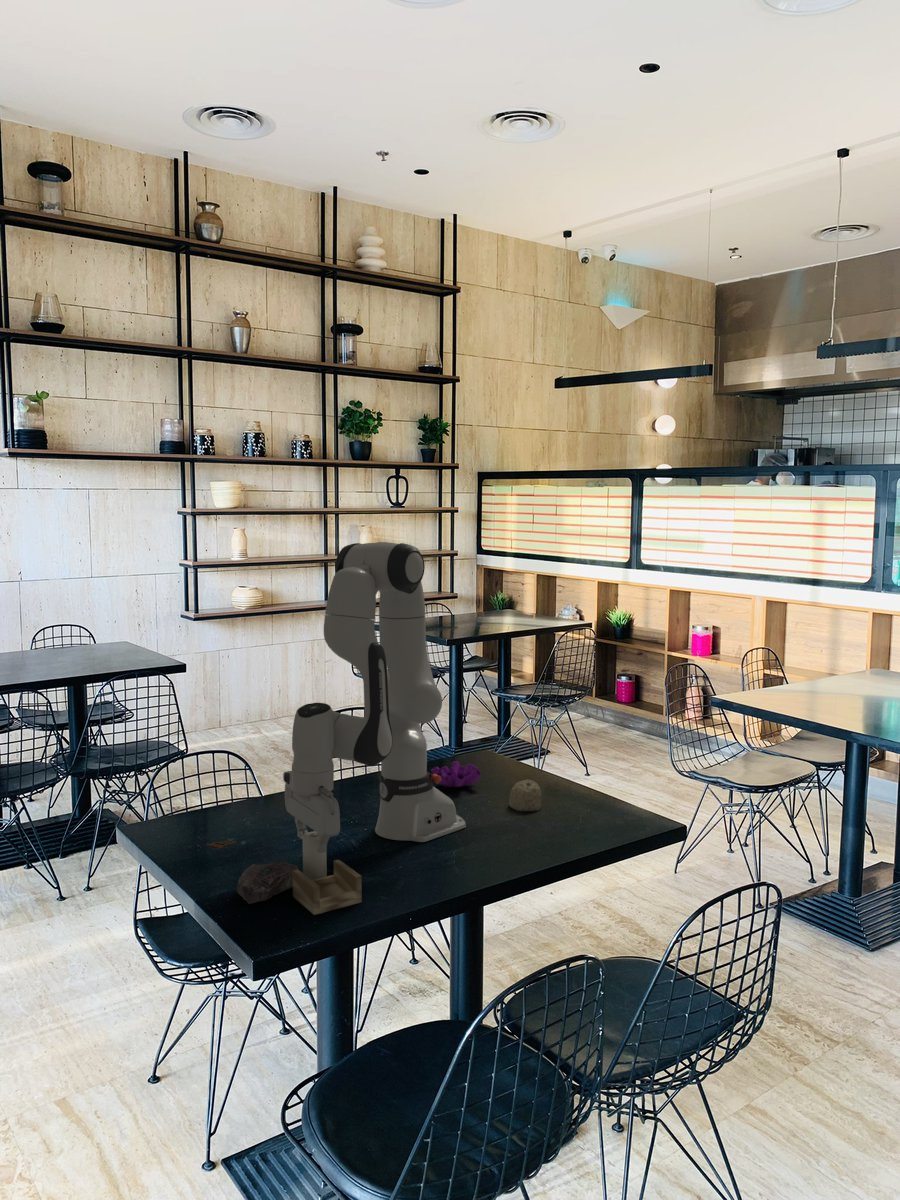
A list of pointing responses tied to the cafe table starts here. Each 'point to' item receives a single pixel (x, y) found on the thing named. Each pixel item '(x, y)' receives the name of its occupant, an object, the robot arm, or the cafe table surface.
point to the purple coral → (457, 775)
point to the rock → (265, 881)
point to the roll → (313, 857)
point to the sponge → (525, 796)
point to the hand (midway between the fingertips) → (311, 844)
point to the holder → (328, 889)
